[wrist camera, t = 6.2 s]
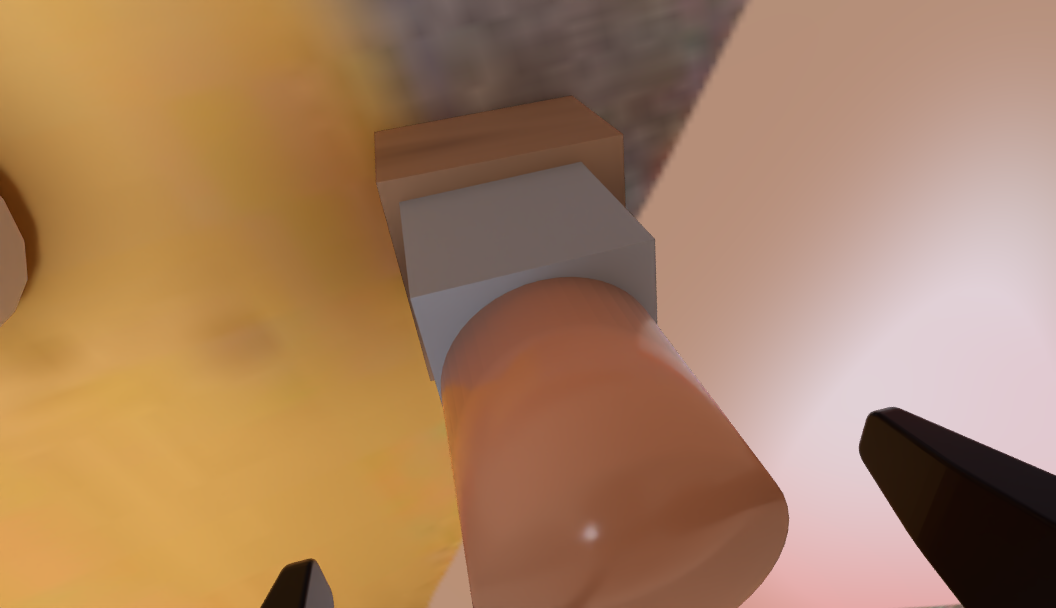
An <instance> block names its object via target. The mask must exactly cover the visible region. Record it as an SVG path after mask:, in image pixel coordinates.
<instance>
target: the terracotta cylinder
mask: <svg viewBox="0 0 1056 608" xmlns="http://www.w3.org/2000/svg"><path fill="white" fill-rule="evenodd" d="M441 397H442V404H443V410H444V417H445V424H446V430H447V437H448V444H449V450H450V457H451V464H452V470H453V477H454V484H455V491H456V497H457V504H458V511H459V517H460V524H461V531H462V537H463V544H464V551H465V557H466V563H467V570H468V577H469V583H470V591H471V597H472V604H473V608H738V607H739V606H740V605H741V604H742V603H743V602H744V601H745V600H747V599H748V598H749V597H750V596H751V595H752V594H753V593H754V591H755V590H756V589H757V588H758V587H759V586H760V585H761V584H762V582H763V581H764V580H765V578H766V577H767V576H768V574H769V573H770V571H771V570H772V569H773V567H774V565H775V563H776V562H777V560H778V558H779V556H780V554H781V552H782V549H783V547H784V544H785V541H786V537H787V533H788V525H789V515H788V506H787V503H786V500H785V498H784V495H783V493H782V491H781V490H780V488H779V487H778V485H777V484H776V482H775V481H774V480H773V478H772V477H771V476H770V474H769V473H768V472H767V470H766V469H765V468H764V466H763V465H762V464H761V462H760V461H759V460H758V458H757V457H756V456H755V454H754V453H753V452H752V450H751V449H750V448H749V446H748V445H747V444H746V442H745V441H744V440H743V439H742V437H741V436H740V434H739V433H738V432H737V430H736V429H735V428H734V426H733V425H732V424H731V422H730V421H729V420H728V418H727V417H726V416H725V415H724V413H723V412H722V411H721V409H720V408H719V407H718V405H717V404H716V403H715V401H714V400H713V399H712V397H711V396H710V395H709V393H708V392H707V391H706V389H705V388H704V387H703V385H702V384H701V383H700V381H699V380H698V379H697V377H696V376H695V375H694V373H693V372H692V371H691V369H690V368H689V367H688V366H687V364H686V363H685V361H684V360H683V359H682V357H681V356H680V355H679V353H678V352H677V351H676V349H675V348H674V347H673V345H672V344H671V343H670V341H669V340H668V339H667V337H666V336H665V335H664V333H663V332H662V331H661V329H660V328H659V327H658V325H657V324H656V323H655V321H654V320H653V319H652V317H651V316H650V315H649V313H648V312H647V311H646V310H645V308H644V307H643V306H642V305H641V304H640V303H639V302H638V301H637V300H636V299H635V298H634V297H633V296H631V295H630V294H629V293H627V292H626V291H624V290H622V289H620V288H618V287H616V286H614V285H612V284H609V283H606V282H603V281H600V280H595V279H590V278H582V277H558V278H551V279H545V280H540V281H536V282H533V283H529V284H526V285H523V286H521V287H518V288H516V289H514V290H511V291H509V292H507V293H505V294H503V295H502V296H500V297H498V298H496V299H495V300H493V301H492V302H490V303H489V304H488V305H486V306H485V307H483V308H482V309H481V310H480V311H479V312H478V313H476V314H475V315H474V316H473V317H472V318H471V319H470V320H469V321H468V322H467V323H466V325H465V326H464V327H463V328H462V329H461V330H460V332H459V333H458V335H457V336H456V338H455V339H454V341H453V342H452V344H451V346H450V349H449V351H448V353H447V355H446V358H445V361H444V364H443V367H442V374H441Z"/></svg>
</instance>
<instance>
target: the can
mask: <svg viewBox="0 0 1056 608" xmlns="http://www.w3.org/2000/svg"><path fill="white" fill-rule="evenodd" d="M27 280H28V276H27V265H26V254H25V242H24V239H23V237H22V235H21V233H20V231H19V229H18V227H17V225H16V223H15V221H14V219H13V217H12V215H11V213H10V211H9V209H8V207H7V205H6V203H5V201H4V199H3V198H2V197H1V196H0V327H1V326H2V325H3V324H4V322H5V321H6V320H7V319H8V318H9V317H10V316H11V315H12V314H13V313H14V312H15V310H16V308H17V305H18V303H19V300H20V298H21V295H22V293H23V290H24V287H25V285H26V282H27Z"/></svg>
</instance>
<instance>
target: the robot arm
mask: <svg viewBox="0 0 1056 608" xmlns="http://www.w3.org/2000/svg"><path fill="white" fill-rule="evenodd" d="M859 453H860V456H861V459H862V461H863V462H864V464H865V466H866V467H867V469H868V470H869V472H870V474H871V475H872V477H873V478H874V480H875V481H876V483H877V485H878V486H879V488H880V489H881V491H882V493H883V494H884V496H885V497H886V499H887V500H888V502H889V504H890V505H891V507H892V508H893V510H894V512H895V513H896V515H897V516H898V518H899V519H900V521H901V523H902V524H903V526H904V527H905V529H906V531H907V532H908V534H909V535H910V536H911V538H912V539H913V541H914V542H915V544H916V545H917V547H918V548H919V549H920V551H921V552H922V553H923V555H924V556H925V557H926V559H927V560H928V561H929V563H930V564H931V565H932V567H933V568H934V569H935V570H936V572H937V573H938V574H939V576H940V577H941V578H942V579H943V581H944V582H945V583H946V585H947V586H948V587H949V589H950V590H951V591H952V592H953V593H954V595H955V596H956V598H957V599H958V600H959V602H960V603H961V604H962V605H963V607H964V608H1056V475H1053V474H1051V473H1049V472H1046V471H1044V470H1042V469H1039V468H1037V467H1035V466H1032V465H1030V464H1028V463H1026V462H1023V461H1021V460H1019V459H1016V458H1014V457H1011V456H1009V455H1007V454H1005V453H1002V452H1000V451H998V450H995V449H993V448H991V447H988V446H986V445H984V444H981V443H979V442H977V441H974V440H972V439H970V438H967V437H965V436H963V435H960V434H958V433H956V432H954V431H951V430H949V429H946V428H944V427H942V426H940V425H937V424H935V423H933V422H930V421H928V420H926V419H923V418H921V417H919V416H916V415H914V414H912V413H909V412H907V411H904V410H902V409H900V408H896V407H888V408H884V409H880V410H876V411H873V412H871V413H870V414H869V415H868V416H867V419H866V422H865V426H864V429H863V433H862V436H861V440H860V443H859ZM260 608H334V601H333V595H332V592H331V589H330V587H329V585H328V583H327V581H326V579H325V577H324V575H323V573H322V571H321V569H320V567H319V565H318V563H317V561H316V560H314V559H312V558H311V559H306V560H302V561H298V562H294V563H291V564H288V565H286V566H285V567H284V568H283V569H282V571H281V572H280V574H279V576H278V578H277V579H276V581H275V583H274V585H273V586H272V588H271V590H270V592H269V593H268V595H267V597H266V599H265V600H264V602H263V604H262V606H261V607H260Z"/></svg>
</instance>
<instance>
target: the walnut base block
mask: <svg viewBox="0 0 1056 608" xmlns="http://www.w3.org/2000/svg"><path fill="white" fill-rule="evenodd" d="M374 134H375V166H376V185H377V188H378V192H379V195H380V199H381V203H382V206H383V210H384V214H385V217H386V221H387V224H388V228H389V232H390V235H391V239H392V243H393V246H394V250H395V253H396V257H397V261H398V264H399V268H400V272H401V275H402V279H403V282H404V286H405V290H406V293H407V297H408V301H409V304H410V308H411V311H412V315H413V319H414V322H415V326H416V330H417V333H418V337H419V340H420V344H421V348H422V351H423V355H424V359H425V362H426V366H427V370H428V373H429V377H430V380H431V381H433V380H435V379H434V376H433V373H432V369H431V366H430V363H429V359H428V356H427V353H426V349H425V346H424V343H423V340H422V336H421V333H420V330H419V326H418V323H417V320H416V316H415V313H414V310H413V306H412V303H411V300H410V294H409V285H408V276H407V267H406V258H405V249H404V240H403V232H402V223H401V214H400V205H399V202H402V201H407V200H411V199H416V198H420V197H425V196H429V195H434V194H438V193H443V192H447V191H452V190H456V189H461V188H465V187H470V186H474V185H479V184H483V183H488V182H492V181H497V180H501V179H506V178H510V177H514V176H519V175H523V174H528V173H532V172H537V171H541V170H546V169H550V168H555V167H559V166H564V165H568V164H573V163H577V162H582V163H583V164H584V165H585V166H586V167H587V168H588V169H589V170H590V171H591V173H592V174H593V175H594V176H595V177H596V178H597V179H598V180H599V181H600V182H601V183H602V184H603V185H604V186H605V187H606V188H607V189H608V190H609V191H610V192H611V193H612V195H613V196H614V197H615V198H616V199H617V200H618V201H619V202H620V203H621V204H622V205H623V206H624V207H625V177H624V147H623V134H622V133H621V132H619V131H618V130H617V129H615V128H614V127H613V126H611V125H610V124H609V123H607V122H606V121H605V120H603V119H602V118H601V117H599V116H598V115H597V114H596V113H594V112H593V111H592V110H590V109H589V108H588V107H586V106H585V105H584V104H582V103H581V102H580V101H578V100H577V99H576V98H574V97H573V96H566V97H561V98H556V99H550V100H545V101H539V102H534V103H529V104H523V105H518V106H512V107H507V108H502V109H496V110H491V111H485V112H480V113H475V114H469V115H464V116H458V117H453V118H448V119H442V120H437V121H431V122H426V123H421V124H415V125H410V126H404V127H399V128H394V129H388V130H383V131H377V132H374ZM625 208H626V207H625Z"/></svg>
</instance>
